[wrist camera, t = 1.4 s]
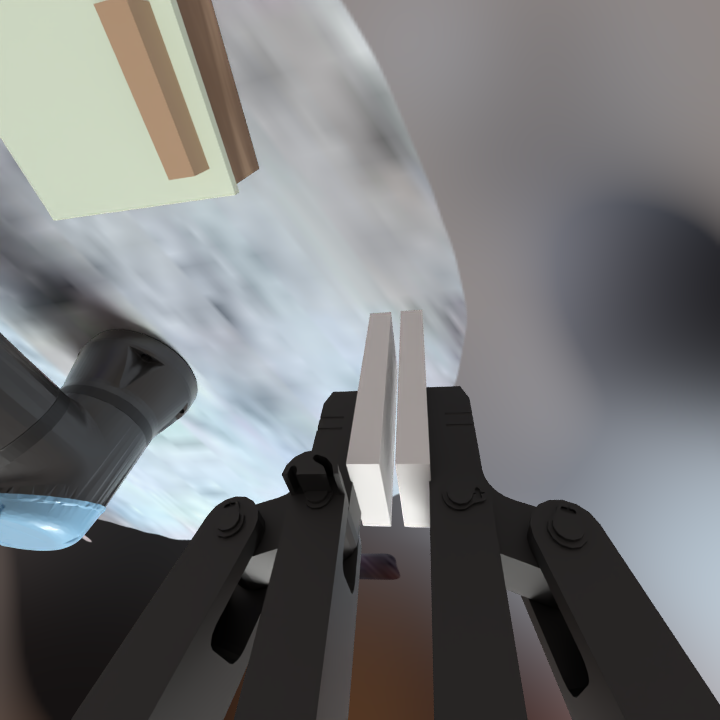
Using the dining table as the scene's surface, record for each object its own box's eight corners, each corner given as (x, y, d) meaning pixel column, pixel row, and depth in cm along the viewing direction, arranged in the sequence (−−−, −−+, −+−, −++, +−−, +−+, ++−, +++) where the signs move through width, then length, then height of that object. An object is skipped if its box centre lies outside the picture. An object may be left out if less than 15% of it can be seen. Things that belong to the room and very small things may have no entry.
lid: (61, 217, 32) (31, 230, 29) (-68, 14, 24) (-123, 7, 21) (239, 192, 29) (222, 203, 26) (160, -50, 21) (126, -66, 18)
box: (107, 191, 36) (62, 210, 32) (21, 30, 29) (-53, 23, 24) (259, 168, 33) (234, 184, 29) (206, -17, 26) (162, -35, 22)
